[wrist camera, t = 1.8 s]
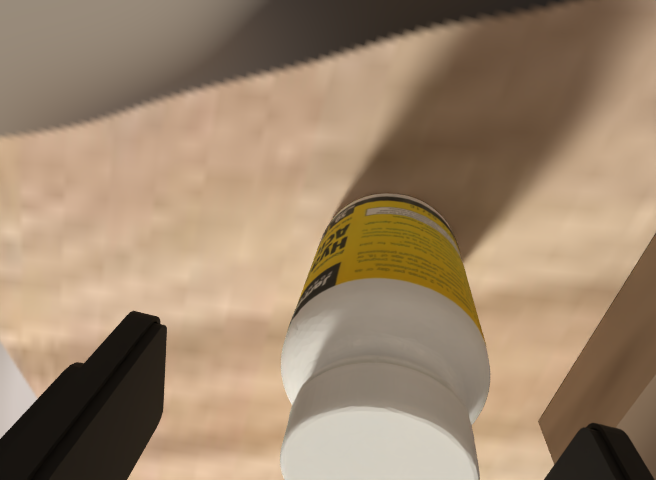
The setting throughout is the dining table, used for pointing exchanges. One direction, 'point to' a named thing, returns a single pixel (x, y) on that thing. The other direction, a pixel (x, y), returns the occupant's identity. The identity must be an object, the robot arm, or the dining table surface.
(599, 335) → the socket block
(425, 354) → the supplement bottle
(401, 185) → the dining table surface
